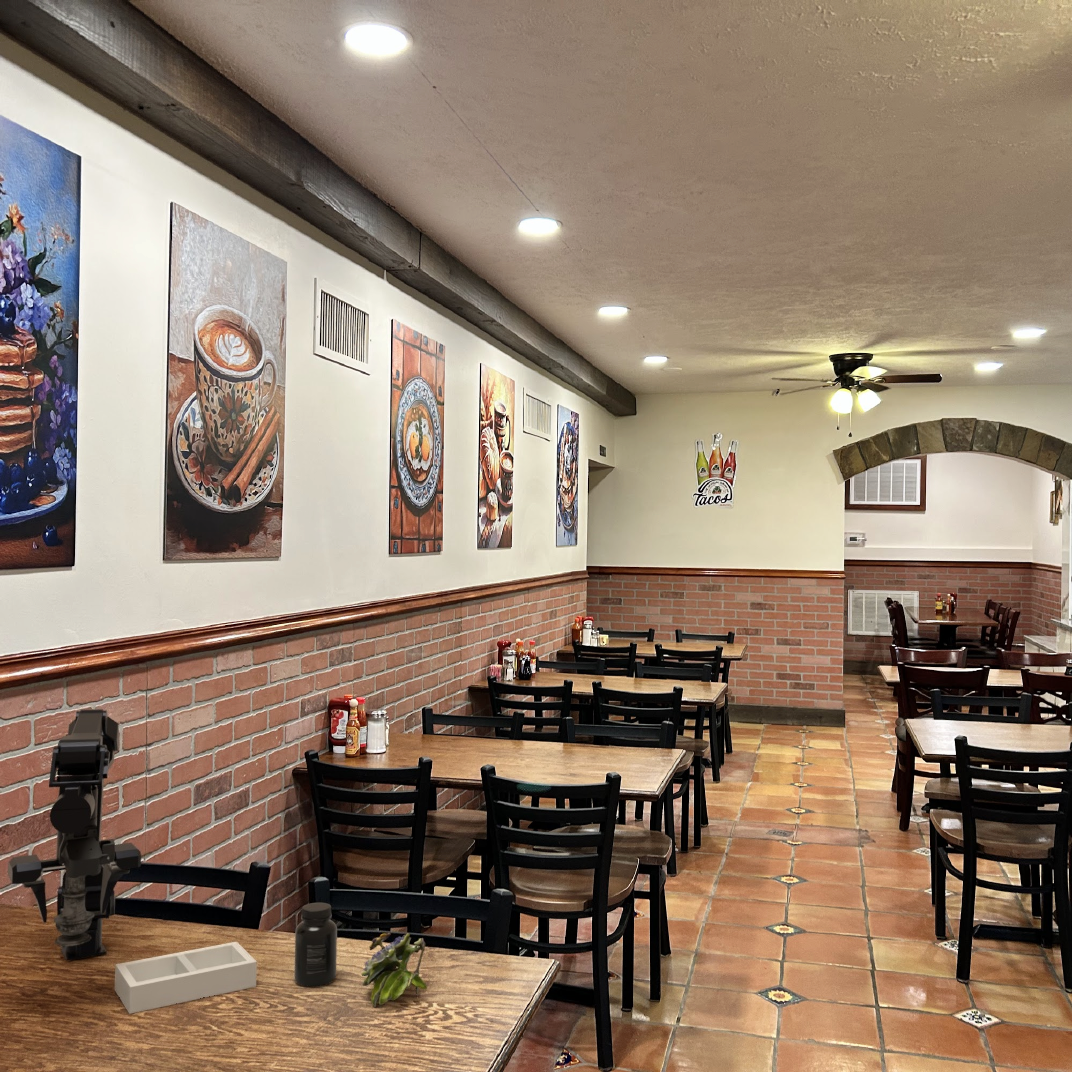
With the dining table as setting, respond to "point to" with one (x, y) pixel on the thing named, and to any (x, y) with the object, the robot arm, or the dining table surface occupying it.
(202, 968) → the condiment caddy
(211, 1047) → the dining table surface
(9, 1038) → the dining table surface
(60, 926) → the grey stone turned post
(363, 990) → the dining table surface
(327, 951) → the supplement bottle
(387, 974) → the passion flower
